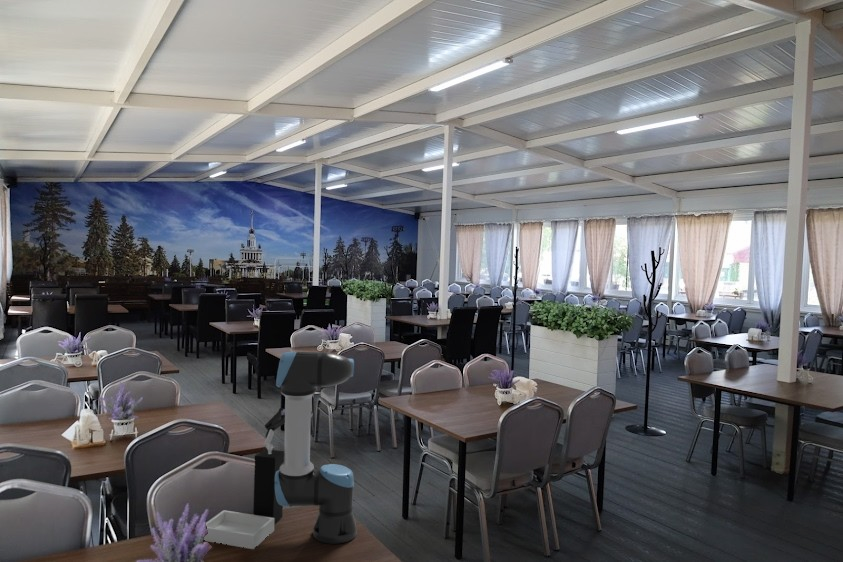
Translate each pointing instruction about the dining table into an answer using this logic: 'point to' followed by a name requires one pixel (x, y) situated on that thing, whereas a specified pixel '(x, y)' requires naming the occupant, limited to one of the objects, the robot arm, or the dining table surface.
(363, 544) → the dining table surface
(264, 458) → the black tall block
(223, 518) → the tray
